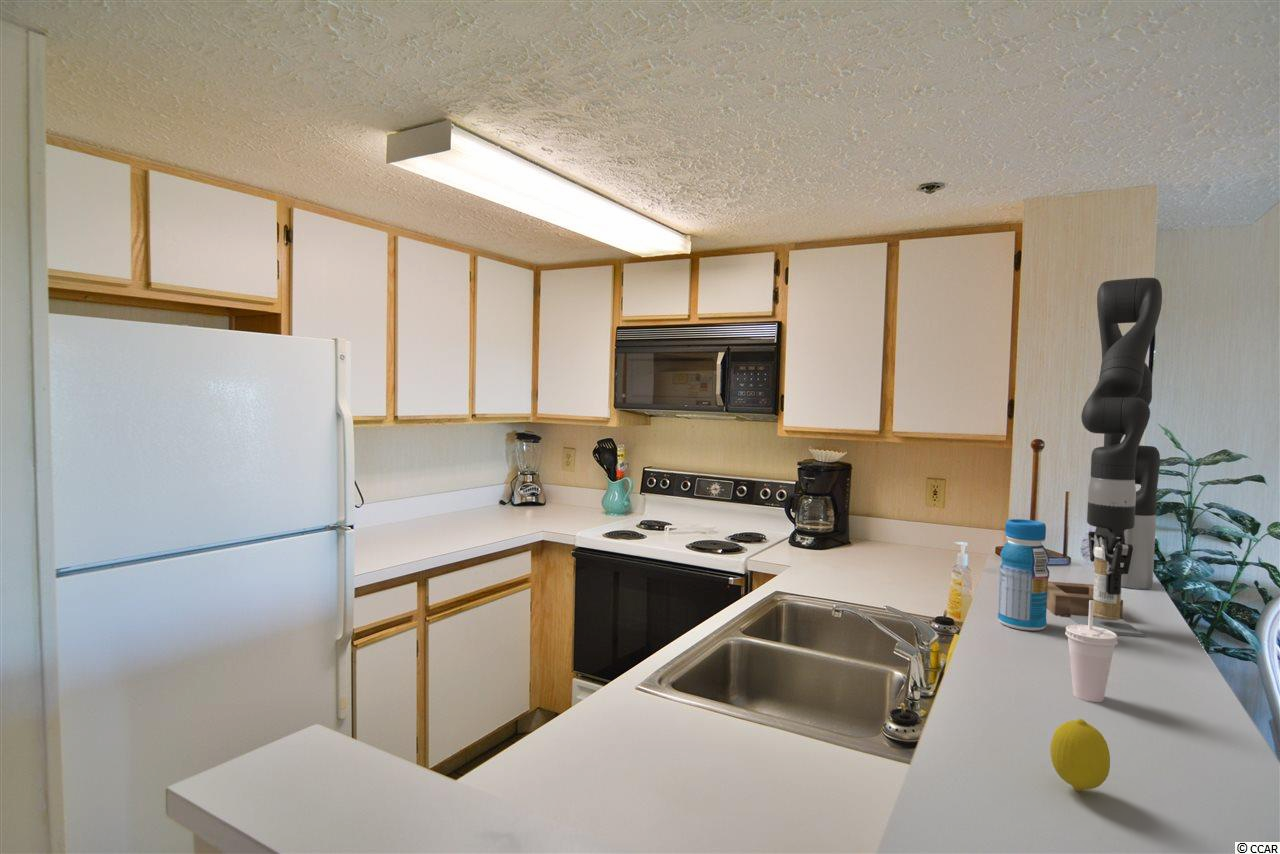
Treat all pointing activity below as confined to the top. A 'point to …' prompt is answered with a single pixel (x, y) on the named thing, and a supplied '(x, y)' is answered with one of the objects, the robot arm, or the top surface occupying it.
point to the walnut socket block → (1071, 599)
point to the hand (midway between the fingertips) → (1107, 590)
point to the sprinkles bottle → (1104, 591)
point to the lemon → (1080, 755)
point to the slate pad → (1110, 625)
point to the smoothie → (1090, 658)
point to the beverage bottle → (1024, 576)
